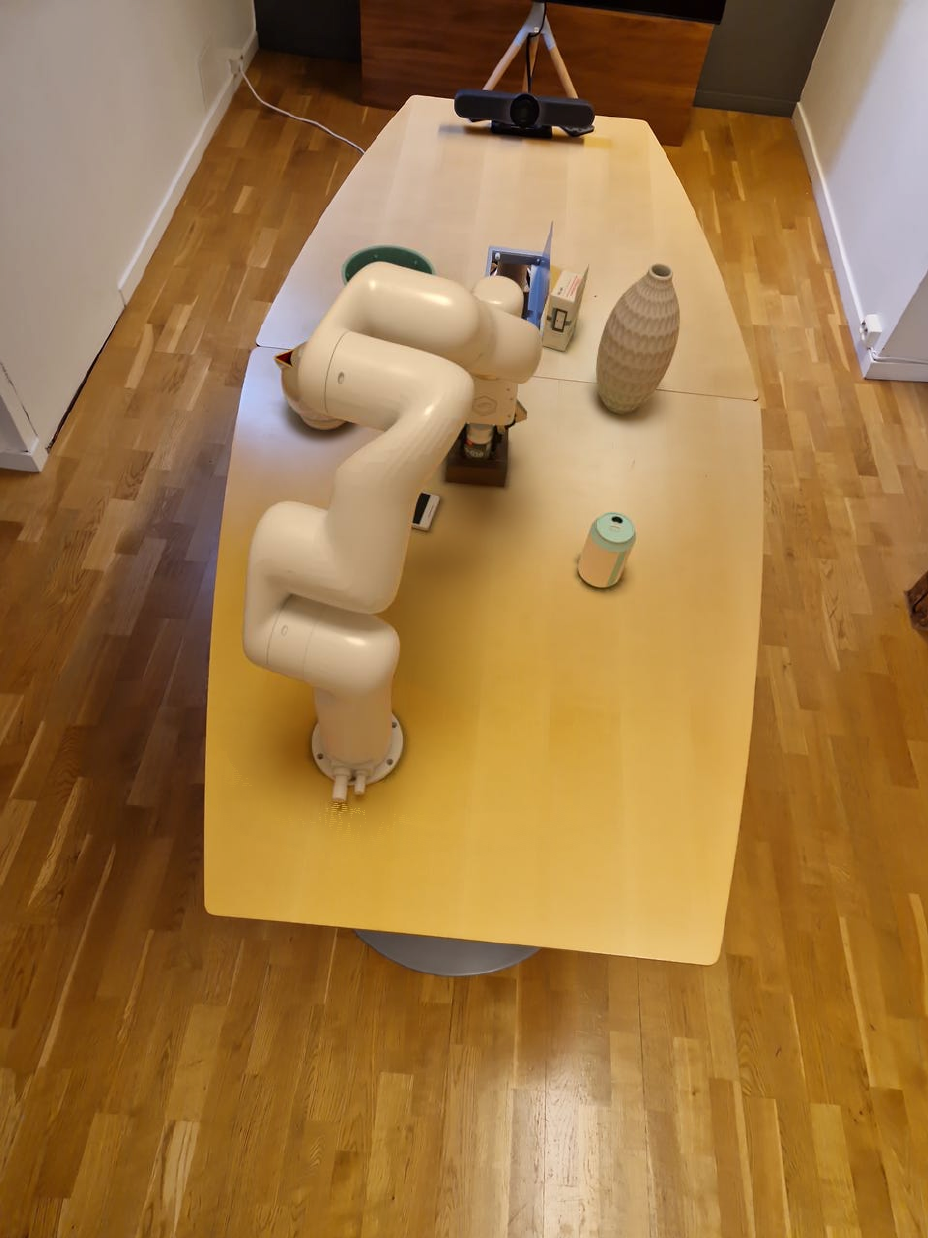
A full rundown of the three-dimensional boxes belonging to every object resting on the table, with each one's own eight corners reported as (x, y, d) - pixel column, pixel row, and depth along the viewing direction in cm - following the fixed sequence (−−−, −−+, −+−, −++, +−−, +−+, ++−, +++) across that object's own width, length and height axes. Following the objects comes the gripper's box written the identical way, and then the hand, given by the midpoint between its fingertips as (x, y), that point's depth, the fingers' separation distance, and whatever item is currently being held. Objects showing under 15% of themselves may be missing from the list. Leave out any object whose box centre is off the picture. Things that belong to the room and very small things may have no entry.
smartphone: (353, 475, 139) (353, 472, 138) (440, 499, 137) (440, 495, 136) (338, 507, 135) (338, 503, 134) (427, 531, 134) (427, 528, 133)
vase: (603, 368, 157) (641, 235, 133) (663, 396, 154) (713, 264, 130) (573, 408, 151) (608, 275, 127) (635, 437, 148) (682, 307, 124)
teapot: (278, 440, 141) (266, 367, 127) (286, 385, 148) (275, 310, 134) (382, 445, 143) (381, 373, 129) (385, 390, 150) (385, 316, 136)
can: (570, 560, 133) (584, 514, 123) (608, 549, 135) (626, 503, 124) (588, 594, 130) (605, 550, 119) (627, 583, 131) (647, 538, 121)
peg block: (504, 487, 140) (507, 471, 136) (445, 481, 140) (446, 465, 136) (506, 443, 145) (508, 427, 142) (449, 437, 145) (450, 421, 141)
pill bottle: (458, 460, 140) (461, 425, 133) (470, 443, 143) (474, 407, 136) (482, 471, 140) (487, 436, 132) (494, 453, 142) (500, 418, 135)
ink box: (552, 319, 163) (565, 253, 151) (576, 326, 163) (591, 260, 150) (540, 345, 159) (552, 280, 146) (564, 352, 158) (579, 287, 146)
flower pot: (373, 307, 161) (370, 232, 147) (446, 336, 158) (451, 263, 145) (330, 357, 153) (323, 283, 139) (407, 388, 150) (408, 316, 136)
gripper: (431, 369, 120) (426, 454, 136) (545, 381, 121) (527, 464, 136) (435, 335, 124) (430, 421, 140) (545, 346, 125) (528, 431, 140)
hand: (478, 441), depth 138 cm, fingers closed on pill bottle, 4 cm apart
